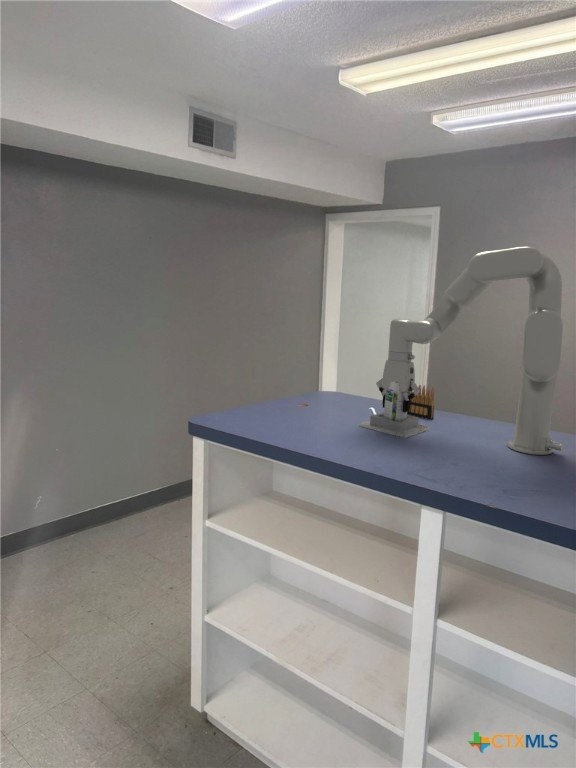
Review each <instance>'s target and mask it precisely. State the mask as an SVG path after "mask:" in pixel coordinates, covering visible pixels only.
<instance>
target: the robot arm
mask: <svg viewBox="0 0 576 768" xmlns="http://www.w3.org/2000/svg"><path fill="white" fill-rule="evenodd" d="M515 279H525V280H526V281H527V283H528V286H529V290H528V291H529V292H528V293H529V294H528V295H529V296H528V312H527V318H526V320H525V323H524V331H523V347H522V349H523V351H522V371H521V372H522V373H521V381H520V388H519V395H518V401H517V402H518V405H517V410H516V411H517V412H516V417H515V419H516V421H515V428H514V435H513V439H510V440H508V442H507V447H509V448H510V449H511V450H513V451H516V452H520V453H524V454H527V455H528V454H529V455H538V456H540V455H541V456H545V455H550V454H552V453H553V452H554V451H555V450H556V451H561V452H563V451H564V450H563V449H564V444H563V443H562V442H558V441H554V440H553V436H552V435H550V431H551V425H552V418H553V409H554V402H555V397H556V396H555V395H556V389H557V383H558V382H557V381H558V374H559V373H558V372H559V371H560V367H561V355H562V343H563V328H564V327H563V324H564V323H563V320H562V298H563V297H562V296H563V295H562V291H563V288H562V287H563V285H562V283H563V282H562V276H561V272H560V270H559V268H558V266H557V265H556V263H555V262H554V261H553V260H552V259H551V258H550V257H548V256H547V255H546V254H544V253H543V252H541V251H540V250H539V249H538V248H536V247H533V246H527V245H526V246H517V247H511V248H505V249H498V250H489V251H482V252H478V253H476V254H475V255H473V256H472V257H471V258H470V260H469V262H468V264H467V266H466V268H465V269H464V270H463V271H462V272H461V274H459V276H458V277H456V279H455V280H453V282H452V283H451V284H450V285H449V286H448V287H447V288H446V290H444V293H443V296H442V298H441V300H440V301H439V303H438V304H437V306H435V308H434V309H433V310H432V311H431V312H430V313H429V314H428V315H427V317H425V319H422V320H411V319H407V318H394V319H391V321H390V327H389V338H388V339H389V340H388V354H387V359H386V361H385V364H384V368H383V374H382V378H380V379H379V380H378V381H376V382H375V383H376V386H377V388H378V391H379V392H380V393H381V396H382V408H383V409H384V408H385V395H386V389H388V388H389V386H390V383H391V382H399V385H400V392H403V395H404V397H405V400H404V401H403V412H408V411H409V410H410V405H411V400H412V399H413V398H414V397H415V396H416V395H417V394H418V393H419V392H420V389H419V388H418V387H419V386H418V385H417V383H416V381H415V380H416V374H415V373H416V372H415V365H414V361H412V360H415V358H416V356H415V354H413V343H415V344H420V345H427V344H431V343H432V342H434V341H436V340H438V339H439V337H441V335H443V333H445V331H446V330H447V329H448V328H450V326H451V325H452V324H453V323H454V322H455V321H456V320H457V319H458V318H459V316H461V314H463V313H464V312H465V311H466V309H468V308H469V307H470V305H471V304H472V303H473V302H475V300H476V299H478V297H479V296H480V295H481V294H482V293H483V292H484V291H485V290H486V289H488V287H489V286H490V285H491V284H492V283H493V282H496V281H505V280H515ZM416 385H417V386H416ZM410 391H413V392H412V393H411V392H410Z"/></svg>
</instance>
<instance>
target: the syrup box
mask: <svg viewBox="0 0 576 768" xmlns="http://www.w3.org/2000/svg"><path fill="white" fill-rule="evenodd" d="M404 400H405V397H404V395H403V392H400V385H399V382H391V383H390V386H389V388H388V389H386V395H385V408H383V409H384V411H383V412H384V418H388V419H392V420H396V421H401V420H404V419H407V415H408V414H407V412H403V401H404Z"/></svg>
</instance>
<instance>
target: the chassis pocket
mask: <svg viewBox="0 0 576 768" xmlns="http://www.w3.org/2000/svg"><path fill="white" fill-rule="evenodd" d="M419 418H420V417H416V416H412V415H408V414H407V419H404V420H401V421H396V420H392V419H388V418H384V411H383V412H380V413H375V414H373V415H370V420H366V421H362V422H359V423H358V427H361V428H365V429H369V430H373V431H377V432H380V433H385V434H387V433H388V434H389V435H392V436H395V435H396V437H399V436H400V437H399V438H403V439H406V438H410V437H412V436H415V435H419V434H421V433H424V432H427V431H429V430H430V427H429V426H426V425H421V424H419Z"/></svg>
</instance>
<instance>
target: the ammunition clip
mask: <svg viewBox="0 0 576 768" xmlns="http://www.w3.org/2000/svg"><path fill="white" fill-rule="evenodd" d="M416 386H417V387H418V388H419V389H420V392H419V393H418V394H417V395H416V396H415V397H414V398H413V399H412V400H411V405H410V410H409V411H408V412H407V415H408V414H409V415H411V416H412V415H415V417H416V416H418V417H419V418H421V417H423V418H422V419H425V418H427V419H426V420H430V419H431V420H433V419H434V413H435V412H434V411H435V404H434V403H435V402H434V401H435V398H434V397H435V390H434V389H435V388H434V386H432V387H431V389H430V385H428V386H427V388H426V386H425V384H424V385H423V386H421V384H419V385H417V384H416ZM413 391H414V390H413ZM413 391H410V392H411V393H412V392H413Z"/></svg>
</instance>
